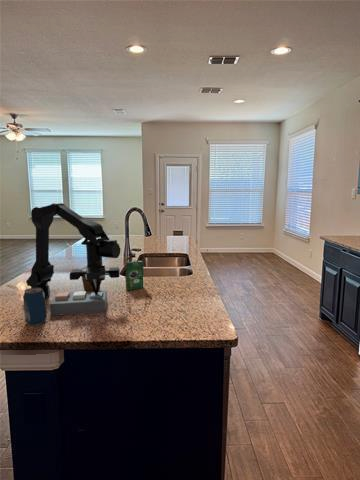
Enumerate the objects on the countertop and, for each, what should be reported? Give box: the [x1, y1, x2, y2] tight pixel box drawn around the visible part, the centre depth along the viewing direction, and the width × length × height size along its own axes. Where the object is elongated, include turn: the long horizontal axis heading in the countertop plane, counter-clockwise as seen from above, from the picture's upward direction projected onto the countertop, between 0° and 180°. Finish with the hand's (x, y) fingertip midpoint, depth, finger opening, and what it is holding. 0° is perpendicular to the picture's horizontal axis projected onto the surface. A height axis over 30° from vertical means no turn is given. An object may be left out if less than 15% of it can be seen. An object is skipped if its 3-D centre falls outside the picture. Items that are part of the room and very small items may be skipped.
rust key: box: [54, 291, 70, 301], centre depth 124 cm, size 4×4×4 cm
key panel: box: [49, 290, 108, 316], centre depth 125 cm, size 20×12×4 cm, turn 99°
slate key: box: [90, 292, 103, 299], centre depth 126 cm, size 4×4×4 cm
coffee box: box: [125, 260, 145, 291], centre depth 147 cm, size 8×3×13 cm, turn 119°
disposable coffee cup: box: [80, 266, 101, 292], centre depth 139 cm, size 10×10×12 cm
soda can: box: [22, 287, 48, 326], centre depth 111 cm, size 7×7×12 cm
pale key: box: [73, 291, 86, 300], centre depth 125 cm, size 4×4×4 cm
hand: (96, 294), depth 125 cm, fingers closed, pressing on slate key
